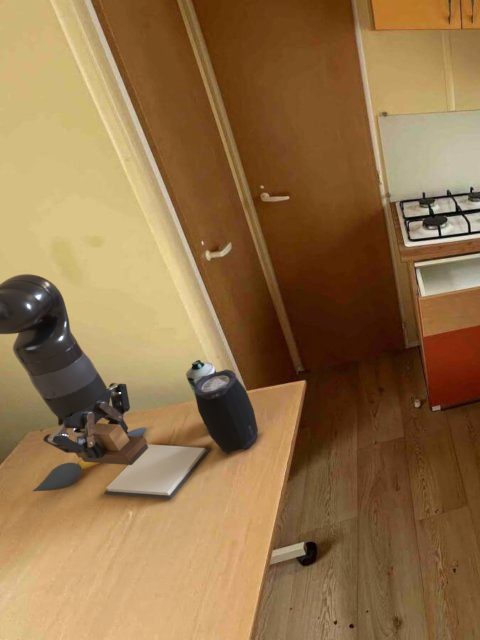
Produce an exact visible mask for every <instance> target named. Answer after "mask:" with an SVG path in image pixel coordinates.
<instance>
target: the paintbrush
mask: <svg viewBox="0 0 480 640" xmlns="http://www.w3.org/2000/svg"><path fill="white" fill-rule="evenodd" d="M146 431H147V427H143V426H142V427H139V428H135V429H132V430H130V431H128V434H126V435H127V436H137V437H143V435H144V434H145V433H146ZM100 464H101V463H95V462H84V461H83V459H82V458H81V460H80V461H78V462H77V463H76V462H70V461H69V462H64V463H61V464H59V465H57V466H56V467H54V468H52V470H51V471H50V472H49V473H48V474H47V475H46V477H45V478H44V480H42V482H41V483H40V484H38V486H36V487H35V488H34V489H32V492H49V491H56V490H61V489H62V490H63V489H66V488H69V487H71V486H72V485H74V484H75V483H76V482H77V481H78V480H80V478H81V476H82V473H83V470H87V469H89V468H92V467H95V466H98V465H100Z"/></svg>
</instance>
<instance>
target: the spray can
mask: <svg viewBox="0 0 480 640" xmlns="http://www.w3.org/2000/svg"><path fill="white" fill-rule="evenodd" d="M216 372H217V371H216V368H215V366H214V365H213V364H212V362H204V361H203V362H202V361H201V360H200V359H197V360H196V361H194V362H192V363H191V367H190V368H189V369H188V370H187V371H186V373H185V376H186V380H187V382H188V384H189V386H190V388H191V390H192V392H193V394H194V395H195V390H194V386H195V384H196V382H197V381H198V380H199V379H200V378H202V377H203V376H206V375H210V374H213V373H216Z"/></svg>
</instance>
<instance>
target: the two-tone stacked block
mask: <svg viewBox="0 0 480 640" xmlns="http://www.w3.org/2000/svg"><path fill="white" fill-rule="evenodd" d="M95 430H96V432H95V433H94V439H95V442H97V443H98V445H99V446H100V448H101V449H102V451H103V452H104V454H105V455H104V456H103V457H102V458H101V459H99V458H97V459H92V458H88V457H87V456H86V455H85V453H84V452H82V453H75V455H76V456H77V458H79V459H81V460H82V459H83V461H84V462H95V463H100V464H109V465H122V466H128V465H132V464H133V463H134V462H135V461H136V460H137V459H138V458H139V457H140V456H141V455H142V454H143V453H144V452H145V451H146V450H147V449H148V444H147V443H148V440H147V438H146V437H145V436H141V437H137V436H127V435H126V433H125V432H124V430H123V428H122V427H121V425H117V424H108V423H101V422H100V423H99V422H97V423H96V424H95Z"/></svg>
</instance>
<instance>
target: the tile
mask: <svg viewBox="0 0 480 640" xmlns="http://www.w3.org/2000/svg"><path fill="white" fill-rule="evenodd" d="M147 446H148V449H147V450H146V451H145V452H144V453H143V454H142V455H141V456H140V457H139V458H138V459H137V460H136V461H135V462H134V463H133V464H132V465H126V467H125V468H124V469H123V470H122V471H121V472H120V473H119V474H118V475H117V476H116V477H115V478H114V479H113V480H112V482H110V484H108V485H107V486H106V488H105V489H106V490H105V491H104V492H103V494H104V495H105V496H116V497H117V496H120V497H133V498H146V499H157V500H158V499H159V500H172V498H173V497H174V496H175V495H176V494H177V492H178V491H179V490H180V489H181V487H182V486H183V485H184V484H185V482H187V480H188V479H189V477H190V476H191V475H192V474H193V473H194V471H195V470H196V469H197V467H198V466H199V465H200V464H201V462H203V460H204V459H205V458H206V457H207V455H208V454H209V453H210V452H211V449H210V448H205V447H198V446H197V447H194V446H183V445H182V446H179V445H167V444H166V445H165V444H151V443H149V444H147Z"/></svg>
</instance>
